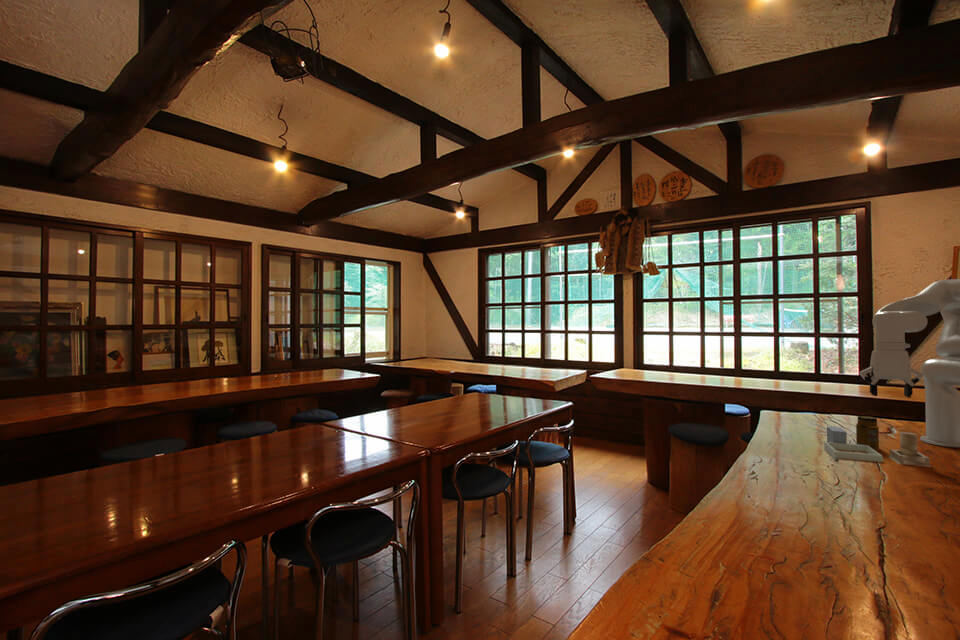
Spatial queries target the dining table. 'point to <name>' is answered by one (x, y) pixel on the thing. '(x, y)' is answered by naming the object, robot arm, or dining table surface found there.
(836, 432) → the block
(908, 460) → the socket block
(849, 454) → the tray
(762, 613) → the dining table surface
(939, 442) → the robot arm
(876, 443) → the condiment
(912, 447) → the dowel
